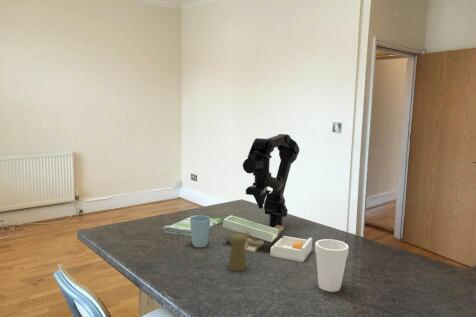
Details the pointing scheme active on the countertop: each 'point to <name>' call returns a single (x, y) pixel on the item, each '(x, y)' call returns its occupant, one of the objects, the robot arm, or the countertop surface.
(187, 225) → the dish towel
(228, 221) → the lever
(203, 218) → the cup
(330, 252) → the foam cup
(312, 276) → the countertop surface
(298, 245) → the ball
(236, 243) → the olive knobbed post
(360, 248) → the countertop surface
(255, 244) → the lever stand
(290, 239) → the bin
